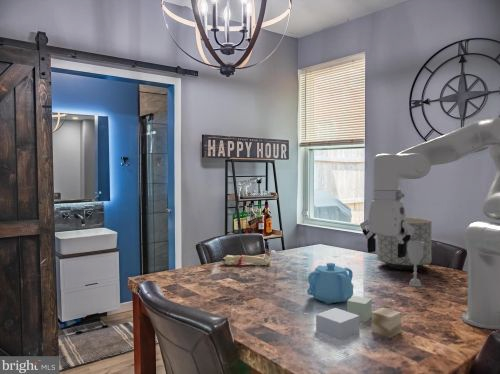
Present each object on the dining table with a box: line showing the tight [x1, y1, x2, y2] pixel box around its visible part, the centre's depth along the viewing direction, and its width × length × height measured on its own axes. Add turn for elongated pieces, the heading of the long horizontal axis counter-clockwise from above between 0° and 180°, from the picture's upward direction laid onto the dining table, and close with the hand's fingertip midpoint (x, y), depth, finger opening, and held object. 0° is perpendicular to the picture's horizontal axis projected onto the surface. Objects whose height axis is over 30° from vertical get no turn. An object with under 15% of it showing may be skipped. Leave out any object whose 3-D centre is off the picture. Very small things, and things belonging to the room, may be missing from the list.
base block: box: [315, 307, 360, 340], centre depth 119 cm, size 9×9×5 cm
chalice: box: [408, 241, 424, 287], centre depth 166 cm, size 7×7×18 cm
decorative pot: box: [306, 262, 354, 305], centre depth 148 cm, size 16×16×14 cm
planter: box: [376, 216, 432, 271], centre depth 197 cm, size 25×25×24 cm
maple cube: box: [371, 307, 402, 339], centre depth 117 cm, size 6×6×6 cm
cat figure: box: [222, 250, 271, 267], centre depth 205 cm, size 10×9×25 cm
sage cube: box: [346, 295, 373, 323], centre depth 129 cm, size 6×6×6 cm
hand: (386, 254), depth 117 cm, fingers open, 9 cm apart
